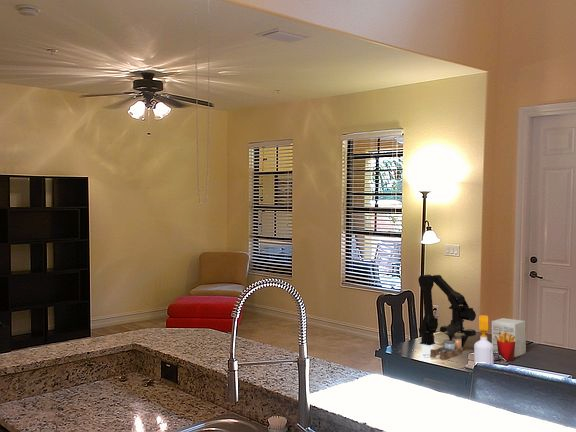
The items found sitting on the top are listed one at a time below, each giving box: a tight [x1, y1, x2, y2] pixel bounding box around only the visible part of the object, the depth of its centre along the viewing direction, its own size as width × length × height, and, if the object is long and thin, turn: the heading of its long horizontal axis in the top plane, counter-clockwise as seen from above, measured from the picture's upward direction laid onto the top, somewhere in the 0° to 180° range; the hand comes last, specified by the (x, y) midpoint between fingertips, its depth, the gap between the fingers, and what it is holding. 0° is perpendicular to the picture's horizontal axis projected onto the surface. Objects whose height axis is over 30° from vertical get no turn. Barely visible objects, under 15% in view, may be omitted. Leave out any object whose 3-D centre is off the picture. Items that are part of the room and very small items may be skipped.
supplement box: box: [491, 317, 527, 358], centre depth 311 cm, size 13×13×18 cm
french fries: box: [495, 331, 515, 362], centre depth 295 cm, size 9×8×15 cm
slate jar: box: [443, 339, 455, 351], centre depth 310 cm, size 6×6×7 cm
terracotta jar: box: [452, 334, 464, 352], centre depth 316 cm, size 6×6×7 cm
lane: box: [429, 346, 462, 361], centre depth 307 cm, size 17×9×4 cm, turn 135°
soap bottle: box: [473, 314, 495, 364], centre depth 286 cm, size 9×9×25 cm
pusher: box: [439, 346, 452, 354], centre depth 305 cm, size 7×6×4 cm
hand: (457, 346), depth 316 cm, fingers closed on terracotta jar, 5 cm apart
